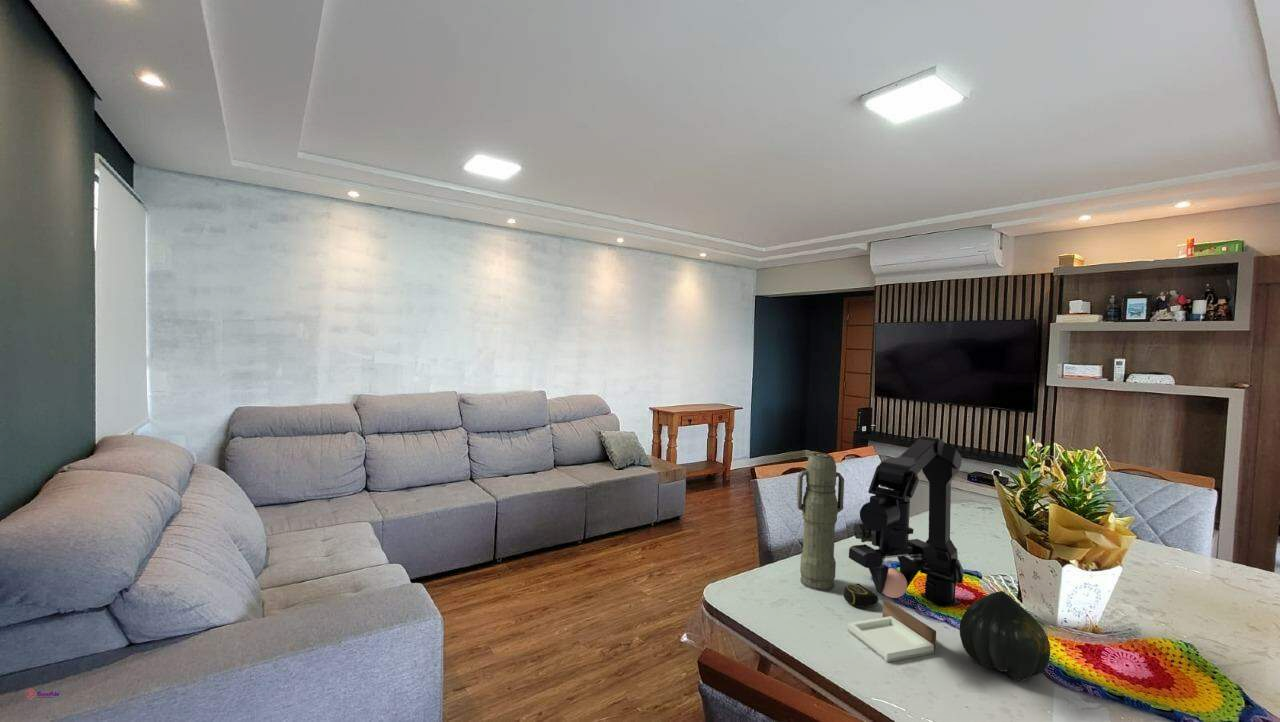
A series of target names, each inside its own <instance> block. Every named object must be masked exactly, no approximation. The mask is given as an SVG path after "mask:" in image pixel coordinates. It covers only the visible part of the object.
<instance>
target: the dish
mask: <svg viewBox="0 0 1280 722" xmlns="http://www.w3.org/2000/svg"><path fill="white" fill-rule="evenodd" d="M846 630H847V632H848V633H849V634H851V636H853V637H854V638H856V639H857V640H858V641H860V642H861V643H862V644H863V645H864V646H865V647H867V648H868V649H869V650H871V651H872V652H873V653H874V654H875V655H877V656H878V657H879V658H880V659H882V660H883V661H885V662H886V663H889V662H890V663H891V662H897V661H901V660H906V659H912V658H916V657H917V658H918V657H922V656H927V655H931V654H932V655H933V654H934V651H935V650H934V645H933V644H932V643H930V642H929V641H927V640H926V639H924V638H923V637H921V636H920V635H918V634H917V633H915V632H914V631H912V630H911V629H909V628H908V627H906V626H905V625H903V624H902V623H901V622H899V621H898V620H896V619H895V618H893V617H892V616H888V617H883V616H882V617H877V618H871V619H864V620H858V621H853V622H847V629H846Z"/></svg>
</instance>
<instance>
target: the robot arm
mask: <svg viewBox="0 0 1280 722" xmlns="http://www.w3.org/2000/svg"><path fill="white" fill-rule="evenodd" d="M961 455H962V454H960V453H959V451H958V450H957V448H955V447H953V446H951V445H949V444H948V443H946V442H945V441H944V440H943V439H941V438H939V437H934V436H929V435H928V436H927V435H920V436H917V438H916V441H915V442H914V443H913V444H911V446H909V447H908V448H906V450H905V451H904V452H902V454H900V456H895V457H888V458H886V459H884V460H882V461H881V462H880V463H879V465H877V466H876V467H875V472H874V474H873V476H872V480H871V482H870V485H869V488H868V491H867V492H868V493H869V494H872V495H870V497H869V501H868V502H865V504H863V505H862V506H861V508H860V510H859V517H860V518H859V519H860V521H861V523H856V524H854V528H853V534H854V537H855V539H857V540H860V542H861V543H865V542H867V543H868V542H871V545H872V546H874V547H878V549H877V548H876V549H875V548H873V547H871V546H869V545H867V544H857V545H852V546H851V547H849V549H848V559H850V560H852V561H853V562H855V563H856V564H858V565H860V566H862V567H864V568H866V569H868V570H869V573H870V575H871V578H872V580H873V581H872V582H873V584H874V587H875V590H876V593H877V594H879V595H883V593H882V592H883V590H884V586H885V582H886V578H887V574H888V570H889V568H890V567H889V566H887V565H886V564H885V559H890V558H891V559H892V558H897V560H898V562H899V571H900V572H901V573H902V574H903V575H904V577H905V578H906V581H907V589H908V588H909V586H910V584H911V583H912V581H913V580H914V578H916V576H917V574H918V573H919V572H920V573H921V574H925V575H926V577H925V578H926V581H925V585H924V592H922V593H920V596H921V597H922V598H924V599H926V600H928V601H930V602H931V603H933V604H935V605H936V606H938V607H941V608H944V607H951V606H956V605H961V601H959V600H958V599H956V588H957V587H956V585H958V584H963V583H964V569H963V566H962V563H961V562H960V559H959V557H958V556H959V555H958V549H957V547H956V546H955V545H954V543H953V541H952V540H951V504H952V503H951V502H952V501H951V497H952V495H951V494H952V492H951V490H952V482H953V481H954V479H955V478H956V477H957V475H958V474H959V471H960V468H961V466H962V456H961ZM920 472H922V473H923V475H924V476H925V478H926V480H927V481H928V538H927V540H926V541H923V540H921V539H918V538H914V539H913V538H912V539H909V535H913V534H914V528H912V527H910V510H911V509H910V508H911V499H912V498H913V496H914V493H915V491H916V489H917V486H918V484H919V481H920V480H919V475H918V474H919V473H920Z"/></svg>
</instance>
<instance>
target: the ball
mask: <svg viewBox="0 0 1280 722" xmlns="http://www.w3.org/2000/svg"><path fill="white" fill-rule="evenodd" d="M907 591H908V588H907V581H906V578H905V577H904V575H903V574H902V573H901V572H900V570H898V569H897V568H894V567H889V570H888V574H887V578H886V582H885V586H884V590H883V592H882V595H884V596H886V597H888V598H893V599H896V598H900V597H902V596H904V595H905V594H906V592H907Z"/></svg>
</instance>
